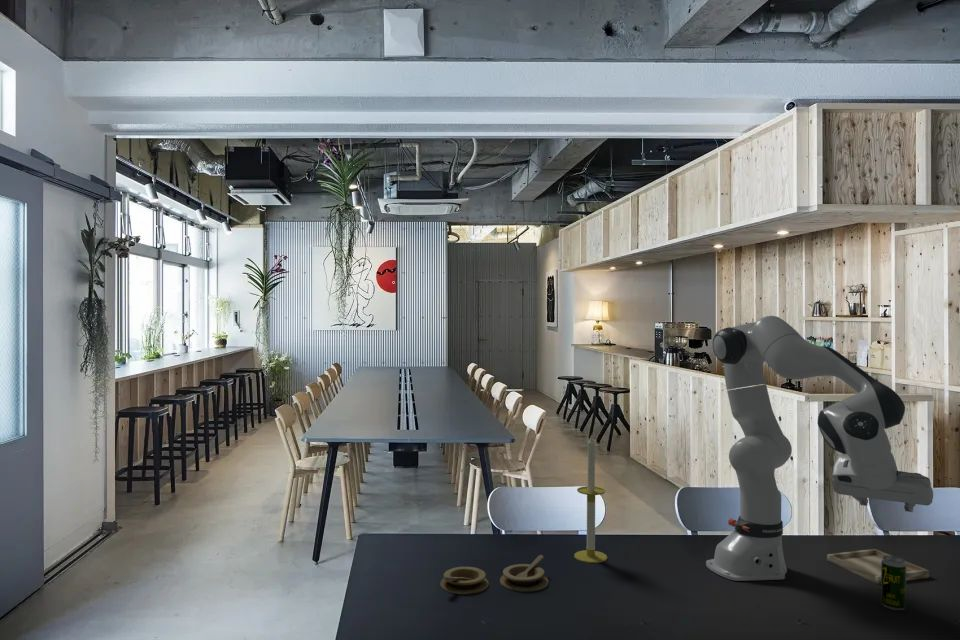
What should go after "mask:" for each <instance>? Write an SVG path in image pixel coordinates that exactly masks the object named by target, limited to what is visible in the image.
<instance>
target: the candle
mask: <svg viewBox="0 0 960 640" xmlns="http://www.w3.org/2000/svg"><path fill="white" fill-rule="evenodd" d="M589 438H590V439H589V440H588V441H587V486H580V487H578V488H577V489H576V491H577V492H578V494H582V495H586V549H585V550H584V549H583V550H579V551H576V552H575V553H574V555H573V557H574V559H576V560H577V561H578V562H582V563H587V564H599V563H603V562H605V561H607V560H608V556H607V554H605V553H604V552H602V551H597V550H596V496H601V495H604V494H605V493H606V489H604V488H601V487H598V486H595V485H596V483H595V482H596V442H595V441H594V438H593V435H592V433H591V434H590V437H589Z"/></svg>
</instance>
